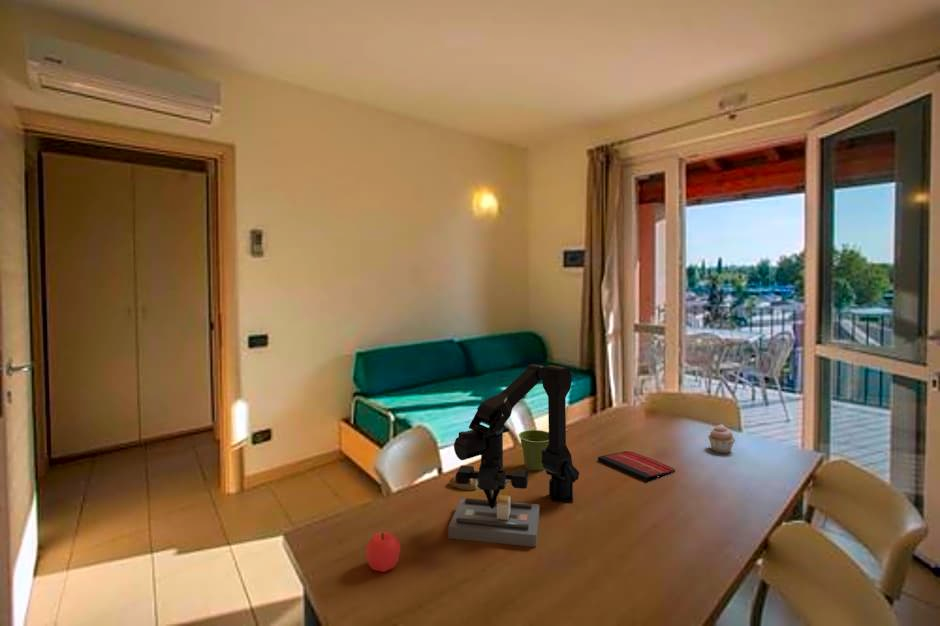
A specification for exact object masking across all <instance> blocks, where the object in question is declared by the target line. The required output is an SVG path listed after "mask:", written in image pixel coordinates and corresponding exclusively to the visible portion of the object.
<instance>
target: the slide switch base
mask: <svg viewBox="0 0 940 626" xmlns="http://www.w3.org/2000/svg"><path fill="white" fill-rule="evenodd" d="M497 502H498V500H496V502H495V505H494V508H490V505H489V502H488V499H480V498H467V497H466V498H465V497H462V498H460V501H459V503H458V505H457V507H456V510H455V512H454V514H453V516H452V518H451V520H450V522H449V525H448V528H447V529H448V539H452V538H453V539H455V540H462V539H464V541H472V540H475V542H481V543H482V542H484V543H493V544H495V543H496V544H504V545H512V546H513V545H514V546H524V547H534V548H536V547H537V542H538V541H537V540H538V531H539V521H540V506H541V505H540V504H537V503H526V502H517V501H511V511H510V515H509V519H508V520H503V519H497ZM453 539H452V540H453Z"/></svg>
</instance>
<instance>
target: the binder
mask: <svg viewBox="0 0 940 626" xmlns="http://www.w3.org/2000/svg"><path fill="white" fill-rule="evenodd" d="M597 462H599V463H601V464H603V465H606V466H608V467H610V468H612V469H615V470H617V471H620V472H622V473H624V474H625V475H628V476H631V477H633V478H636V479H637V480H640V481H642V482H645V483H648V480H650V479H652V478H656V479H655V480H658V479H660V478H664V477H666V476H669V475H671V473H672V474H674V473H675V472H676V469H675V468H673V467H670V466H669V465H666V464H664V463H662V462H659V461H657V460H655V459H652V458H650V457H647V456H644V455H641V454H639V453H635V452H633V451H628V450H625V451H621V452H615V453H609V454H605V455H600V456H597ZM673 472H674V473H673ZM668 474H669V475H668ZM665 475H666V476H665ZM655 476H659V477H655ZM663 476H664V477H663ZM651 477H652V478H651ZM657 478H658V479H657Z"/></svg>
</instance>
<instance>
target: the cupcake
mask: <svg viewBox="0 0 940 626" xmlns="http://www.w3.org/2000/svg"><path fill="white" fill-rule="evenodd" d="M707 438H708V440H709V444H710V448H711V450H712V451H714V452H716V453H721V454H729V453H730V452H731V451H732V447H733V445H734V444H735V442H736V439H735V437H734V435H733V433H732V431H731V430H730V429H729V428H728V427H726V426H725V425H724V424H722V423H720V424H719V425H716V426H714V428H713V429H712V430H711V431H710V434H709V435H707Z"/></svg>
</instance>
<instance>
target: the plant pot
mask: <svg viewBox="0 0 940 626" xmlns="http://www.w3.org/2000/svg"><path fill="white" fill-rule="evenodd" d="M518 437H519V439H520V444H521V447H522V453H523V454H522V456H523V459H524V460H523V462H524V466H525V468H526V469H527V470H530V471H532V470H533V471H538V472H540V471H545V468H544V467H543V464H542V463H541V461H542V453H541V452H542V450H545V449H546V448H547V446H548V444H549V431H546V430H540V429H528V430H524V431H523V430H522V431H521V432H520V433H518ZM533 471H532V472H533Z"/></svg>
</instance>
